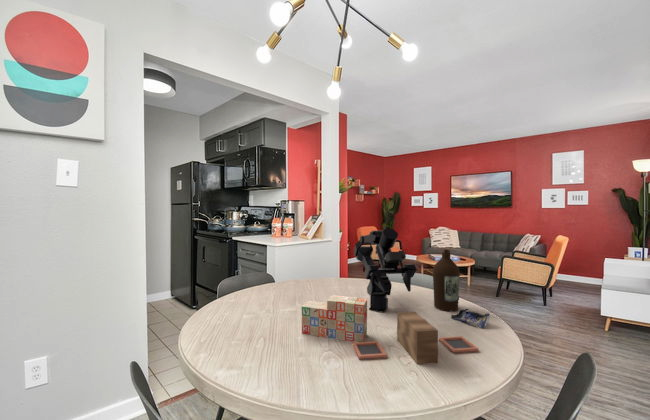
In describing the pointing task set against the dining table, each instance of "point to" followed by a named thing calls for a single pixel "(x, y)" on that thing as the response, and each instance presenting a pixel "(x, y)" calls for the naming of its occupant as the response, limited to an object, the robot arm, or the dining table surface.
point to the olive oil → (446, 283)
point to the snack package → (472, 317)
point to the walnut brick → (417, 337)
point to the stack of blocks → (336, 318)
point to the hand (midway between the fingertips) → (397, 291)
